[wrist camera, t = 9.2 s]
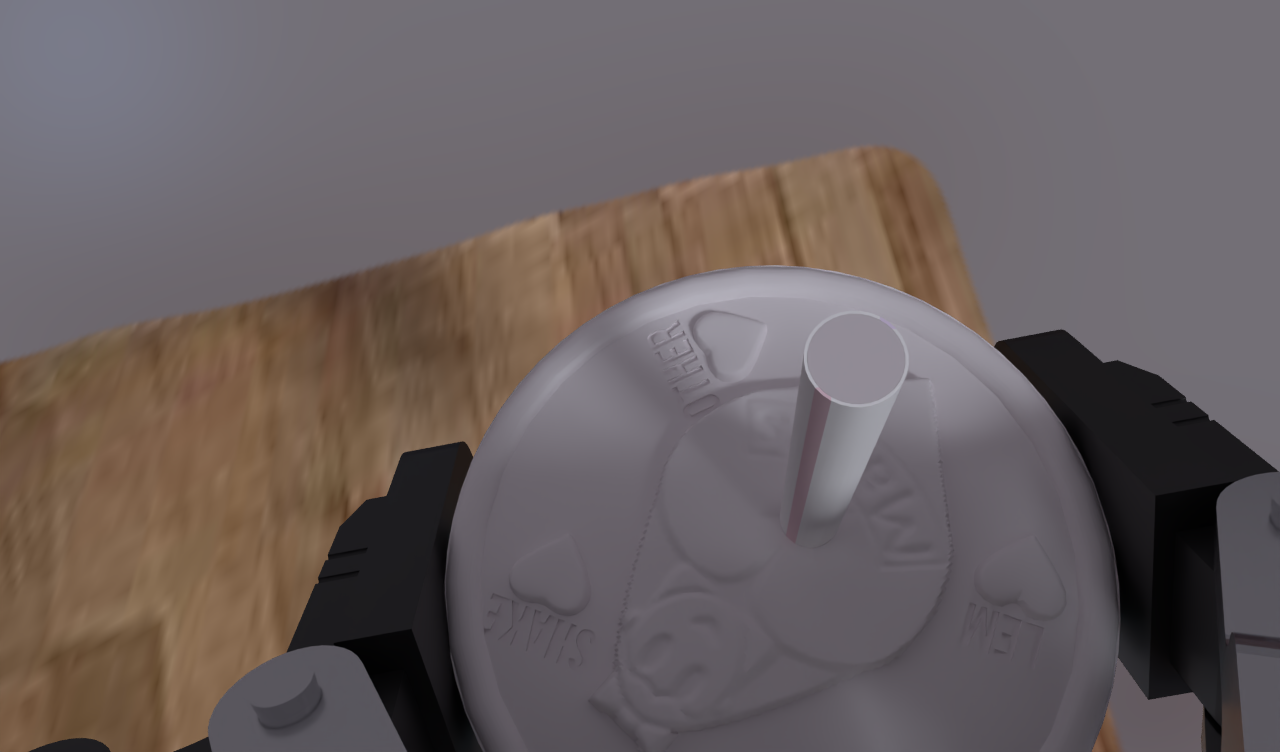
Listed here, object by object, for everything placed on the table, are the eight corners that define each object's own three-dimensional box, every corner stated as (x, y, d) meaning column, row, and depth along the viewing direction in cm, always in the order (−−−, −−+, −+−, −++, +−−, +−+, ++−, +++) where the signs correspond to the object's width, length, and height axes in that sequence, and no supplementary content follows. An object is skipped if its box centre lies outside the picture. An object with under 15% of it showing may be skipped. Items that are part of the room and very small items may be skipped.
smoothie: (1010, 638, 18) (1724, 378, 5) (777, 925, 17) (888, 1619, 4) (741, 414, 20) (732, -207, 7) (516, 658, 19) (-25, 480, 6)
